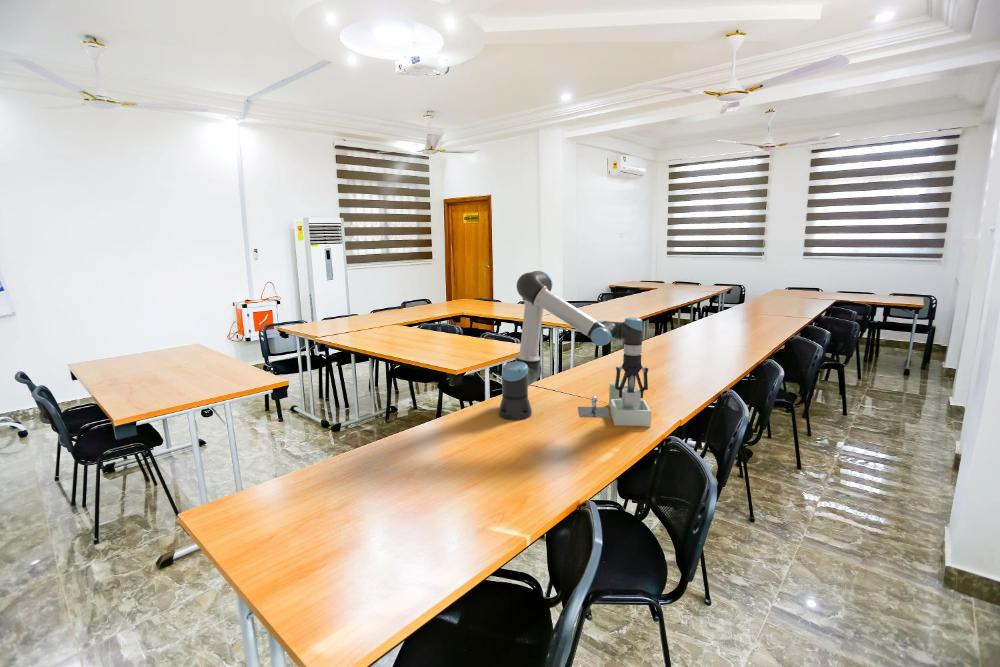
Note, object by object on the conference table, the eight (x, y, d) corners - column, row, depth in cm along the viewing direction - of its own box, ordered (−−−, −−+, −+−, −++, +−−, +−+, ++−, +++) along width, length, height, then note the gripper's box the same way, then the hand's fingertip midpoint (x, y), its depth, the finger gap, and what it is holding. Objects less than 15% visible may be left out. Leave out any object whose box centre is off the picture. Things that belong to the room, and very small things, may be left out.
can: (604, 405, 238) (605, 381, 236) (620, 402, 242) (620, 378, 240) (616, 411, 230) (617, 386, 228) (632, 408, 234) (633, 383, 231)
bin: (614, 425, 212) (615, 410, 211) (610, 413, 227) (611, 399, 225) (650, 426, 210) (651, 411, 209) (644, 414, 225) (644, 399, 224)
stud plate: (579, 417, 222) (579, 400, 220) (577, 407, 235) (577, 391, 234) (611, 418, 220) (611, 401, 219) (607, 408, 234) (608, 391, 232)
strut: (624, 412, 215) (625, 377, 212) (621, 407, 221) (623, 373, 218) (639, 412, 214) (640, 377, 211) (636, 408, 220) (638, 373, 217)
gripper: (610, 355, 210) (609, 407, 214) (657, 355, 208) (655, 408, 213) (608, 351, 217) (607, 401, 222) (653, 351, 216) (651, 402, 220)
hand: (630, 404), depth 217 cm, fingers closed on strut, 6 cm apart
